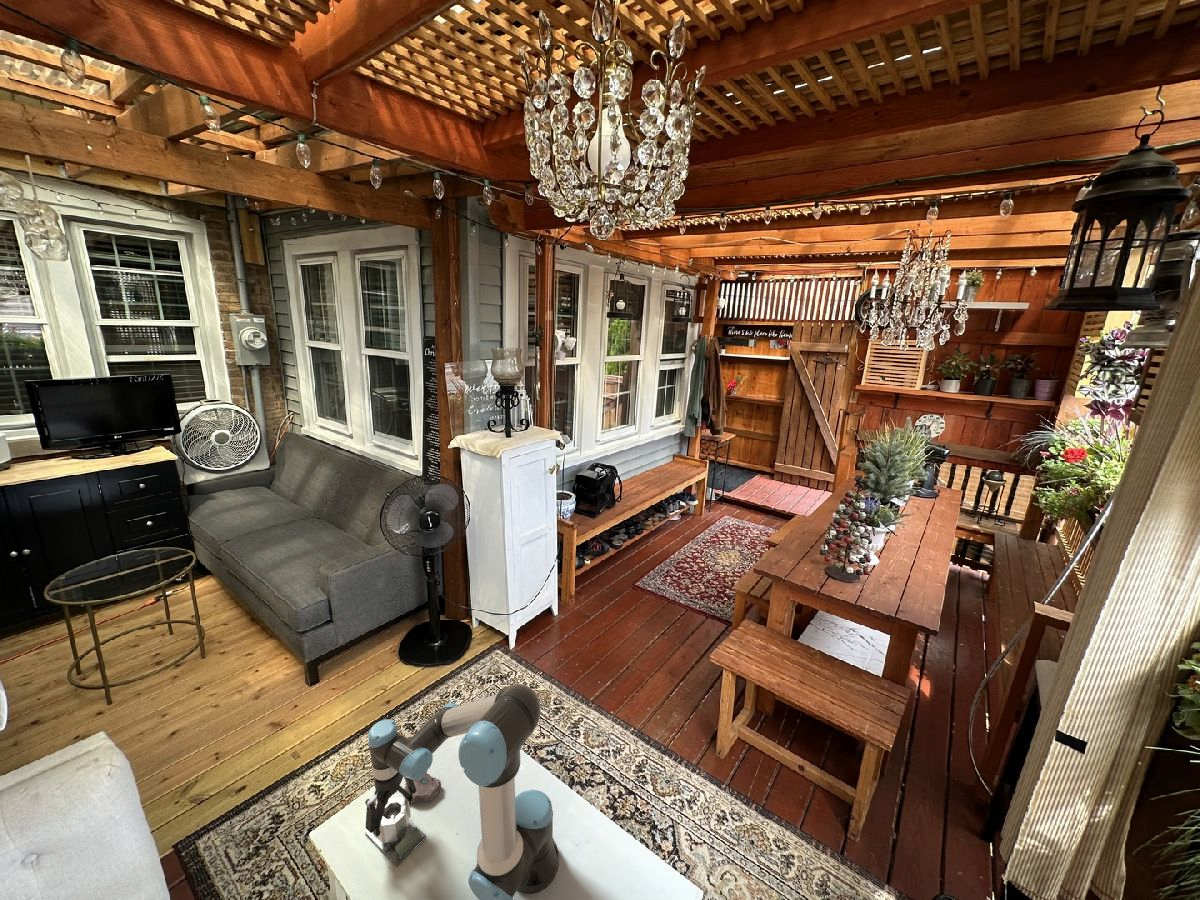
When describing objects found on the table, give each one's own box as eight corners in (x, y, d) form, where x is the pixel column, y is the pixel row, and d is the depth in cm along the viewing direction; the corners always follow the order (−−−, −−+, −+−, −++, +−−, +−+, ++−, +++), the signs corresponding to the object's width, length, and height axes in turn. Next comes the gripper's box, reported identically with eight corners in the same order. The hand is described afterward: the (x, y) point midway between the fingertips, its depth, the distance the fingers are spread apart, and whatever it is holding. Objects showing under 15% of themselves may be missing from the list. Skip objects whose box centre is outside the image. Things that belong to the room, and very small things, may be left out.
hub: (413, 824, 145) (412, 807, 143) (390, 847, 138) (388, 830, 136) (398, 809, 149) (396, 792, 147) (374, 831, 142) (372, 814, 141)
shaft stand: (426, 836, 144) (423, 817, 142) (396, 867, 136) (394, 847, 134) (394, 807, 153) (392, 788, 150) (365, 834, 145) (362, 814, 142)
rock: (436, 804, 154) (435, 794, 153) (401, 805, 153) (399, 794, 152) (443, 781, 162) (442, 771, 161) (409, 782, 161) (408, 771, 160)
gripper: (410, 738, 148) (416, 793, 154) (345, 791, 131) (354, 850, 137) (425, 750, 144) (431, 806, 150) (360, 806, 127) (369, 866, 133)
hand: (394, 827), depth 143 cm, fingers closed on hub, 8 cm apart
